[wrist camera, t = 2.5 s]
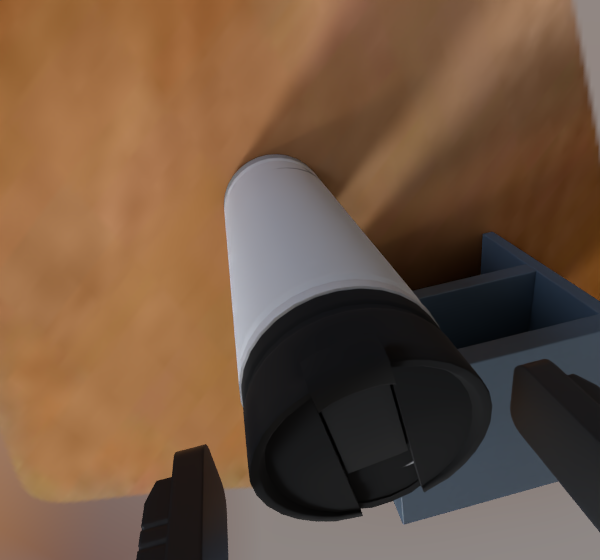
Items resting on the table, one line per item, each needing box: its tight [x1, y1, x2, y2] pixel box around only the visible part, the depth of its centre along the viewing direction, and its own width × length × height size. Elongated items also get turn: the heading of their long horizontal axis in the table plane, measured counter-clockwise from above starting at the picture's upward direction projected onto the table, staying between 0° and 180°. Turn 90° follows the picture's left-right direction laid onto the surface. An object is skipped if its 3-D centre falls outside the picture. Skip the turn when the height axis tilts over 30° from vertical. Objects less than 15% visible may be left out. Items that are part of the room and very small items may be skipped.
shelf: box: [394, 232, 600, 524], centre depth 28 cm, size 11×12×12 cm
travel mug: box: [224, 154, 492, 521], centre depth 19 cm, size 6×7×20 cm
